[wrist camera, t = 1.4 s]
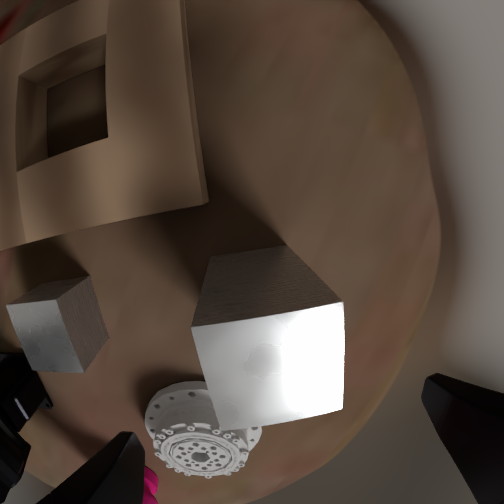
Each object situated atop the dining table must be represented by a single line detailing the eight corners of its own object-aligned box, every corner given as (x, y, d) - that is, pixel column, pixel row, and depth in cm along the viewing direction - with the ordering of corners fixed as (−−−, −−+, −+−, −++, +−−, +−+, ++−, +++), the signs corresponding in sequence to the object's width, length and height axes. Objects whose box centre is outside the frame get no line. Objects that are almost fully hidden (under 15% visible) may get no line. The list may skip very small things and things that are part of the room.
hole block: (19, 243, 17) (-12, 254, 13) (13, 66, 14) (-13, 54, 10) (209, 201, 18) (203, 204, 14) (184, -1, 14) (177, -32, 10)
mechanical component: (187, 357, 20) (129, 418, 22) (179, 393, 16) (117, 452, 17) (283, 413, 22) (215, 463, 23) (292, 449, 18) (215, 495, 19)
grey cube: (61, 339, 19) (32, 370, 14) (42, 283, 18) (6, 305, 13) (109, 337, 19) (84, 372, 15) (90, 275, 18) (55, 299, 13)
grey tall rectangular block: (223, 325, 20) (221, 430, 10) (210, 256, 19) (191, 327, 9) (294, 314, 20) (341, 408, 10) (286, 244, 19) (343, 301, 9)
